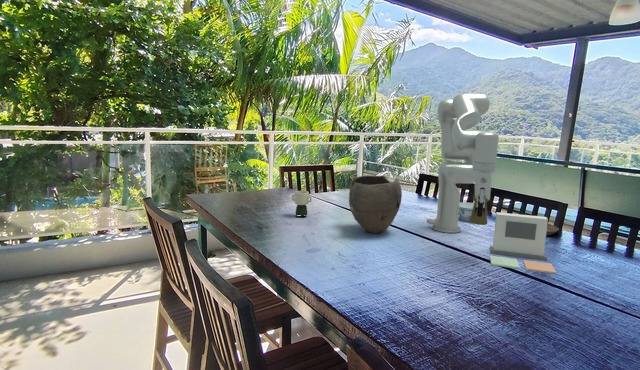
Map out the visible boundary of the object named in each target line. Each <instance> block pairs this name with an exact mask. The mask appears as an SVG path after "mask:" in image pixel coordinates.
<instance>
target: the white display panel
mask: <svg viewBox="0 0 640 370" xmlns="http://www.w3.org/2000/svg"><path fill="white" fill-rule="evenodd" d="M548 221H549V219H548V217H547V216H539V215H529V214H528V215H527V214H517V213H508V212H507V213H506V212H497V211H496V212H495V222H494V233H493V242H492V245H489V252H490V254H493V255H494V254H496V255H502V256H510V257H517V258H527V259H533V260H534V259H535V260H539V261H540V260H541V261H548V256H547V255H546V253H545V248H546V246H545V245H546V239H547V236H546V231H547V223H548V224H549V222H548Z"/></svg>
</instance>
